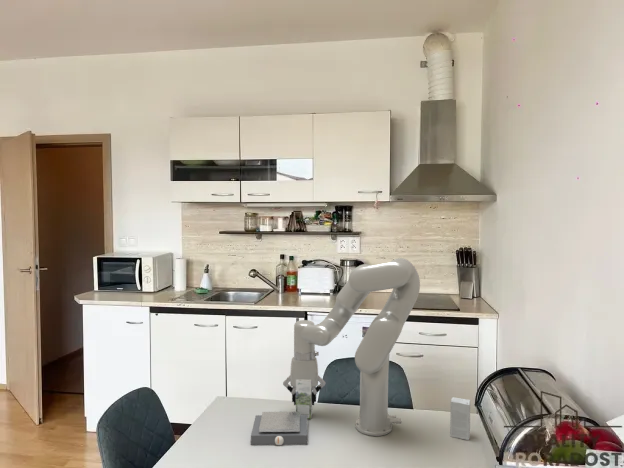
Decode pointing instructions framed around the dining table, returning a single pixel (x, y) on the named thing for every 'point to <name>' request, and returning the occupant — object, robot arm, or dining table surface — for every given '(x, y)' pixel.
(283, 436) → the base
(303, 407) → the syrup box
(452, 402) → the skincare box
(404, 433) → the dining table surface
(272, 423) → the pan
